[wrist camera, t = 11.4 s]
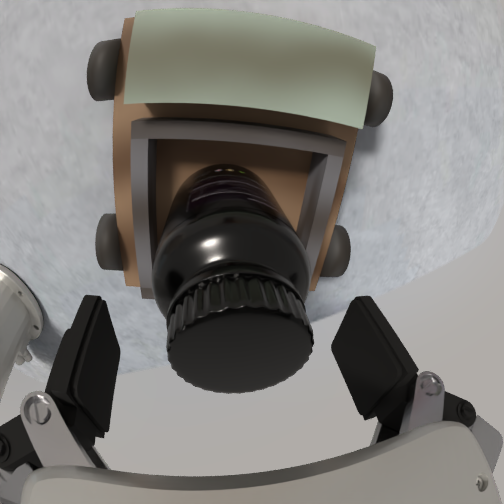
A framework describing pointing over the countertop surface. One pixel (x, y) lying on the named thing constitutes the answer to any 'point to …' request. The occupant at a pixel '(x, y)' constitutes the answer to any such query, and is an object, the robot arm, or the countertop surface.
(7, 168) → the countertop surface
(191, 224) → the supplement bottle
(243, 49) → the toy truck
